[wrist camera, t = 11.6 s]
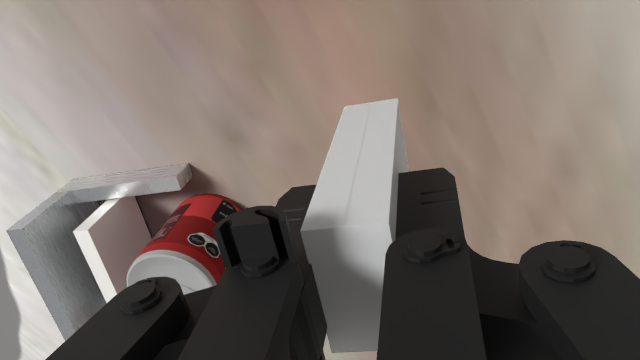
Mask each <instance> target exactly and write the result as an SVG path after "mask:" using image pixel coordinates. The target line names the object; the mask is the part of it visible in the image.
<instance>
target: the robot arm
mask: <svg viewBox="0 0 640 360" xmlns="http://www.w3.org/2000/svg"><path fill="white" fill-rule="evenodd" d="M212 230H213V233H214V235H215V238H216V241H217V244H218V247H219V250H220V253H221V256H222V259H223V262H224V265H225V268H226V269H225V271H224V273H223V274H222V276H221V278H220V280H219V282H218V284H217V285H215V286H212V287H209V288H206V289H202V290H199V291H195V292H192V293H188V294H185V295H184V294H183V292H182V289H181V286H180V284H179V283H178V282H177V281H176V279H173V278H170V277H166V276H164V277H151V278H146V279H143V280H140V281H137V282H136V283H135V284H133V285H131V286H129V287H127V288H125V289H124V290H122V291H121V292H120V293H118V294H117V295H116V296H114V297H113V298H112V299H111V300H110V301H109V302H108V303H107V304H105V305H104V306H103V307H102V308H101V309H100V310H99V311H98V312H97V313H96V314H95V315H93V316H92V317H91V318H90V319H89V320H88V321H87V322H86V323H85V324H84V325H83V326H82V327H80V328H79V329H78V330H77V331H76V332H75V333H74V334H73V335H72V336H71V337H70V338H68V339H67V340H66V341H65V342H64V343H63V344H62V345H61V346H60V347H59V348H58V349H56V350H55V351H54V352H53V353H52V354H51V355H50V356H49V357H48V358H47V359H46V360H325V356H324V353H323V346H324V341H325V336H326V332H327V336H328V340H329V344H330V347H331V351H332V353H338V352H362V351H377V360H640V279H639V278H638V277H637V276H636V275H635V274H634V273H632V272H631V271H630V270H629V269H628V268H627V267H626V266H625V265H624V264H623V263H621V262H620V261H619V260H618V259H617V258H616V257H615V256H613V255H612V254H610V253H609V252H607V251H605V250H604V249H602V248H600V247H597V246H594V245H591V244H587V243H584V242H577V241H565V240H563V241H554V242H546V243H543V244H540V245H537V246H535V247H532V248H531V249H529V250H528V251H527V252H526V253H524V254H523V255H522V257H521V260H520V263H519V264H514V263H506V262H500V261H495V260H491V259H489V258H486V257H483V256H481V255H479V254H478V253H476V252H474V251H473V250H472V249H471V248H470V247H469V246H468V245H467V242H466V240H465V236H464V230H463V224H462V218H461V212H460V206H459V200H458V194H457V188H456V182H455V177H454V176H453V175H452V174H451V173H449V172H448V171H447V170H446V169H444V168H436V169H428V170H420V171H412V172H409V167H408V161H407V154H406V147H405V141H404V134H403V128H402V121H401V114H400V108H399V101H398V98H397V99H390V100H384V101H377V102H371V103H364V104H358V105H351V106H345V107H344V109H343V112H342V115H341V118H340V121H339V123H338V126H337V129H336V132H335V135H334V138H333V140H332V143H331V146H330V149H329V152H328V154H327V157H326V160H325V163H324V166H323V168H322V171H321V174H320V177H319V180H318V182H317V185H309V186H300V187H292V188H291V189H290V190H289V191H288V192H287V193H285V194H284V195H283V196H282V197H281V198H280V199H279V200H278V203H277V205H276V207H274V206H256V207H251V208H246V209H243V210H240V211H238V212H235V213H232V214H230V215H229V216H227V217H225V218H224V219H222V220H221V221H219V222H218V223H217V224H216V225H215V227H214V228H213V229H212Z"/></svg>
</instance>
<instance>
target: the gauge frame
mask: <svg viewBox="0 0 640 360" xmlns="http://www.w3.org/2000/svg"><path fill="white" fill-rule="evenodd" d="M192 176H193V175H192V172H191V169H190V166H189V163H185V164H178V165H171V166H163V167H156V168H149V169H142V170H134V171H127V172H120V173H113V174H105V175H98V176H91V177H84V178H76V179H73V180H71V181H70V182H69V183H67V184H66V185H65V186H64V187H62V188H61V189H60V190H58V191H57V192H56V193H54V194H53V195H52V196H51V197H49V198H48V199H47V200H45V201H44V202H43V203H41V204H40V205H39V206H38V207H36V208H35V209H34V210H32V211H31V212H30V213H28V214H27V215H26V216H25V217H23V218H22V219H21V220H19V221H18V222H17V223H16V224H14V225H13V226H12V227H10V228H9V229H8V230H6V231H7V233H8V235H9V237H10V239H11V240H12V242H13V244H14V246H15V248H16V250H17V252H18V253H19V255H20V257H21V259H22V261H23V263H24V265H25V267H26V268H27V270H28V272H29V274H30V276H31V278H32V280H33V281H34V283H35V285H36V287H37V289H38V291H39V293H40V295H41V296H42V298H43V300H44V302H45V304H46V306H47V308H48V309H49V311H50V313H51V315H52V317H53V319H54V321H55V323H56V324H57V326H58V328H59V330H60V332H61V334H62V336H63V337H64V339H65V341H66V340H67V339H68V338H70V337H71V336H72V335H73V334H74V333H75V332H76V331H77V330H78V329H79V328H80V327H82V326H83V325H84V324H85V323H86V322H87V321H88V320H89V319H90V318H91V317H92V316H93V315H95V314H96V313H97V312H98V311H99V310H100V309H101V308H102V307H103V306H104V305H105V304H107V303H106V301H105V299H104V296H103V294H102V292H101V290H100V288H99V286H98V284H97V282H96V280H95V277H94V275H93V273H92V271H91V269H90V267H89V265H88V263H87V261H86V258H85V256H84V254H83V252H82V250H81V248H80V246H79V244H78V242H77V239H76V237H75V235H74V233H73V231H74V230H75V229H76V228H77V227H78V226H79V225H81V224H82V223H83V222H84V221H85V220H86V219H87V218H88V217H89V216H90V215H91V214H92V213H94V212H95V211H96V210H97V209H98V208H99V207H100V206H99V204H98V200H106V199H114V198H122V197H130V196H138V195H146V194H154V193H162V192H170V191H178V190H181V189H182V188H183V187H184V186H185V185H186V183H187V182H188V181H189V180H190V179H191V178H192Z"/></svg>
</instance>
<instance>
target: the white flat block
mask: <svg viewBox="0 0 640 360" xmlns="http://www.w3.org/2000/svg"><path fill="white" fill-rule="evenodd" d="M73 233H74V235H75V237H76V239H77V242H78V244H79V246H80V248H81V250H82V252H83V254H84V256H85V258H86V261H87V263H88V265H89V267H90V269H91V271H92V273H93V275H94V277H95V280H96V282H97V284H98V286H99V288H100V290H101V292H102V294H103V296H104V299H105V301H106V303H108V302H109V301H110V300H111V299H112V298H113V297H114V296H116V295H117V294H118V293H120V292H121V291H122V290H124V289H125V288H127V281H126V279H127V273H128V271H129V269H130V267H131V265H132V263H133V262H134V261H135V259H136V258H137V257H138V255H139V254H140V253H141V252H142V250H143V249H144V248H145V247H146V246H147V244H148V243H149V242H150V241H151V240H152V238H151V236H150V233H149V231H148V228H147V226H146V223H145V221H144V218H143V216H142V213H141V211H140V208H139V206H138V203H137V201H136V198H135V196H130V197H122V198H114V199H108V200H107V201H105V202H104V203H103V204H102V205H101V206H100V207H99V208H98V209H97V210H96V211H95V212H94V213H92V214H91V215H90V216H89V217H88V218H87V219H86V220H85V221H84V222H83V223H82V224H81V225H79V226H78V227H77V228H76V229H75V230H74V231H73Z"/></svg>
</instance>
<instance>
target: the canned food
mask: <svg viewBox="0 0 640 360" xmlns="http://www.w3.org/2000/svg"><path fill="white" fill-rule="evenodd" d="M240 210H242V209H241V208H240V207H239V206H238V205H236V204H235V203H234V202H232V201H231V200H229V199H227V198H225V197H223V196H220V195H216V194H199V195H196V196H193V197H191V198H189V199H187V200H185V201H184V202H182V203H181V204H180V205H179V207H178V208H177V209H176V210H175V212H174V213H173V214H172V215H171V216H170V218H169V219H168V220H167V221H166V222H165V224H164V225H163V226H162V227H161V229H160V230H159V231H158V232H157V233H156V235H155V236H154V237H153V238H152V240H151V241H150V242H149V243H148V244H147V246H146V247H145V248H144V249H143V250H142V252H141V253H140V254H139V255H138V257H137V258H136V259H135V261H134V262H133V263H132V265H131V267H130V269H129V271H128V273H127V279H126V281H127V287H129V286H131V285H133V284H135V283H136V282H137V281H140V280H143V279H146V278H151V277H164V276H166V277H170V278H173V279H176V281H177V282H178V283H179V284H180V286H181V289H182V292H183V294H184V295H185V294H188V293H192V292H195V291H199V290H202V289H206V288H209V287H212V286H215V285H217V284H218V282H219V280H220V278H221V276H222V274H223V273H224V271H225V269H226V268H225V265H224V262H223V259H222V256H221V253H220V250H219V247H218V244H217V241H216V238H215V235H214V233H213V230H212V229H213V228H214V227H215V225H216V224H217V223H218V222H219V221H221V220H222V219H224V218H225V217H227V216H229V215H230V214H232V213H235V212H238V211H240Z"/></svg>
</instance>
